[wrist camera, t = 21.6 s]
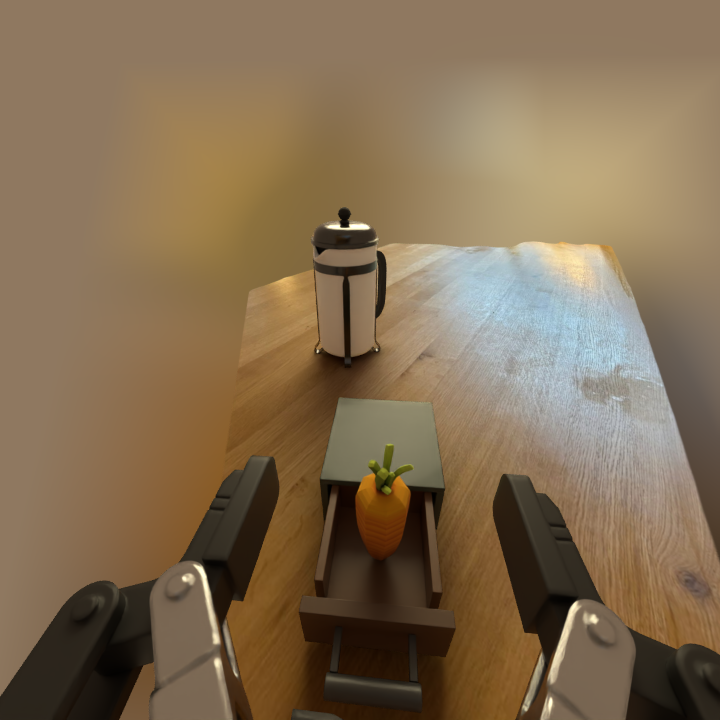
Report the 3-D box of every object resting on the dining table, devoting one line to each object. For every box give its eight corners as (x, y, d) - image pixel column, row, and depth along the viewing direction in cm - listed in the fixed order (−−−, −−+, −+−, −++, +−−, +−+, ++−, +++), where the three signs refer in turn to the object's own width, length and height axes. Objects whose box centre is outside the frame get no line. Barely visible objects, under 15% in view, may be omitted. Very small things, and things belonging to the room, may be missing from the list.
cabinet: (436, 530, 39) (445, 488, 35) (323, 520, 40) (319, 479, 36) (426, 440, 52) (432, 402, 48) (340, 435, 53) (338, 397, 49)
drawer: (453, 731, 25) (466, 708, 22) (292, 710, 26) (283, 685, 23) (431, 514, 40) (437, 482, 37) (330, 506, 41) (327, 474, 38)
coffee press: (386, 369, 69) (393, 213, 53) (309, 368, 69) (294, 213, 54) (383, 332, 84) (389, 201, 68) (320, 331, 84) (311, 201, 68)
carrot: (376, 525, 38) (380, 427, 30) (412, 554, 35) (428, 455, 27) (346, 559, 35) (342, 459, 27) (383, 594, 32) (391, 494, 24)
